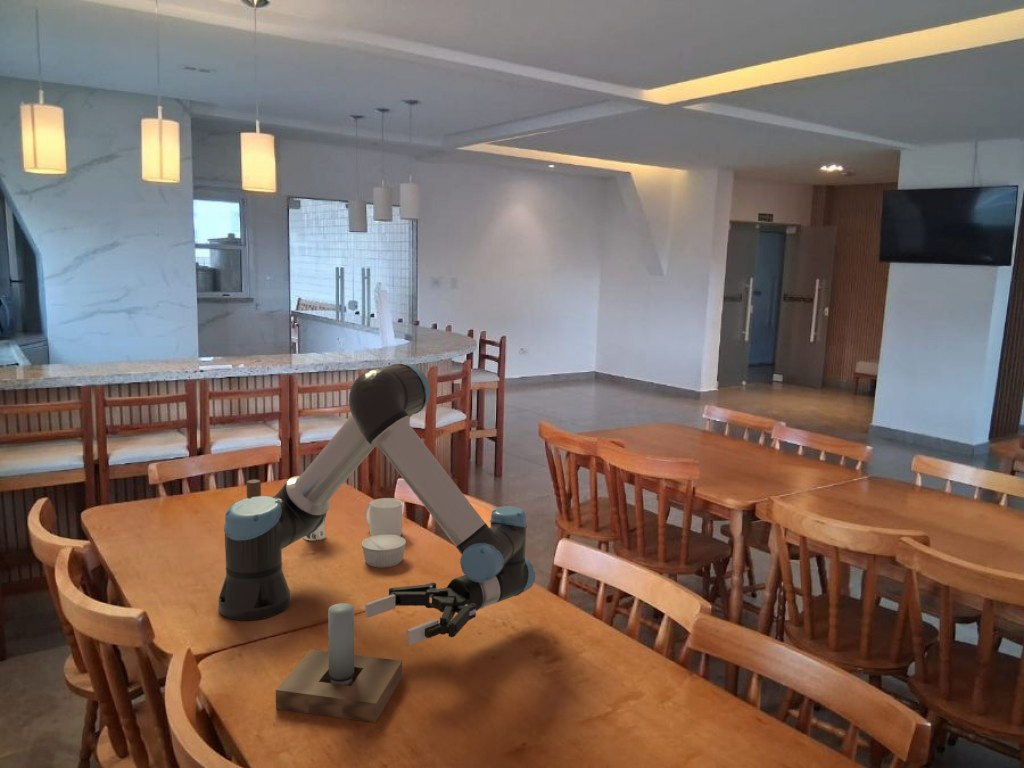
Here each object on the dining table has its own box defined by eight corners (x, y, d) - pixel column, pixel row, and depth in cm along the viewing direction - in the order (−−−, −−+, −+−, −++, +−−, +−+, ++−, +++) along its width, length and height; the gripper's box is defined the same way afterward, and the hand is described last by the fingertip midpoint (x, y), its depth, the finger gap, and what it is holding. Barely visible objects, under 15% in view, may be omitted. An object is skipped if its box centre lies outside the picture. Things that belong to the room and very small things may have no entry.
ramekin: (353, 565, 190) (353, 545, 189) (376, 550, 200) (376, 531, 199) (391, 573, 186) (391, 552, 185) (413, 557, 196) (413, 538, 195)
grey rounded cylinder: (324, 698, 132) (324, 613, 129) (334, 684, 136) (334, 602, 134) (348, 701, 131) (348, 615, 129) (357, 687, 135) (357, 604, 133)
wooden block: (261, 557, 193) (260, 490, 190) (245, 545, 200) (243, 480, 198) (275, 554, 195) (274, 488, 192) (258, 542, 203) (257, 478, 200)
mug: (408, 534, 212) (409, 503, 211) (383, 542, 205) (383, 510, 204) (382, 524, 220) (382, 493, 219) (357, 531, 213) (357, 500, 212)
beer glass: (304, 532, 211) (304, 481, 209) (329, 532, 212) (329, 481, 209) (299, 541, 204) (299, 489, 202) (325, 541, 205) (325, 489, 202)
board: (275, 708, 128) (275, 689, 128) (311, 666, 142) (311, 649, 141) (375, 722, 125) (375, 703, 125) (402, 678, 139) (402, 660, 138)
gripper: (514, 631, 145) (427, 669, 130) (434, 589, 163) (350, 618, 148) (515, 595, 144) (428, 629, 129) (435, 556, 162) (350, 583, 147)
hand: (386, 623), depth 139 cm, fingers open, 13 cm apart
